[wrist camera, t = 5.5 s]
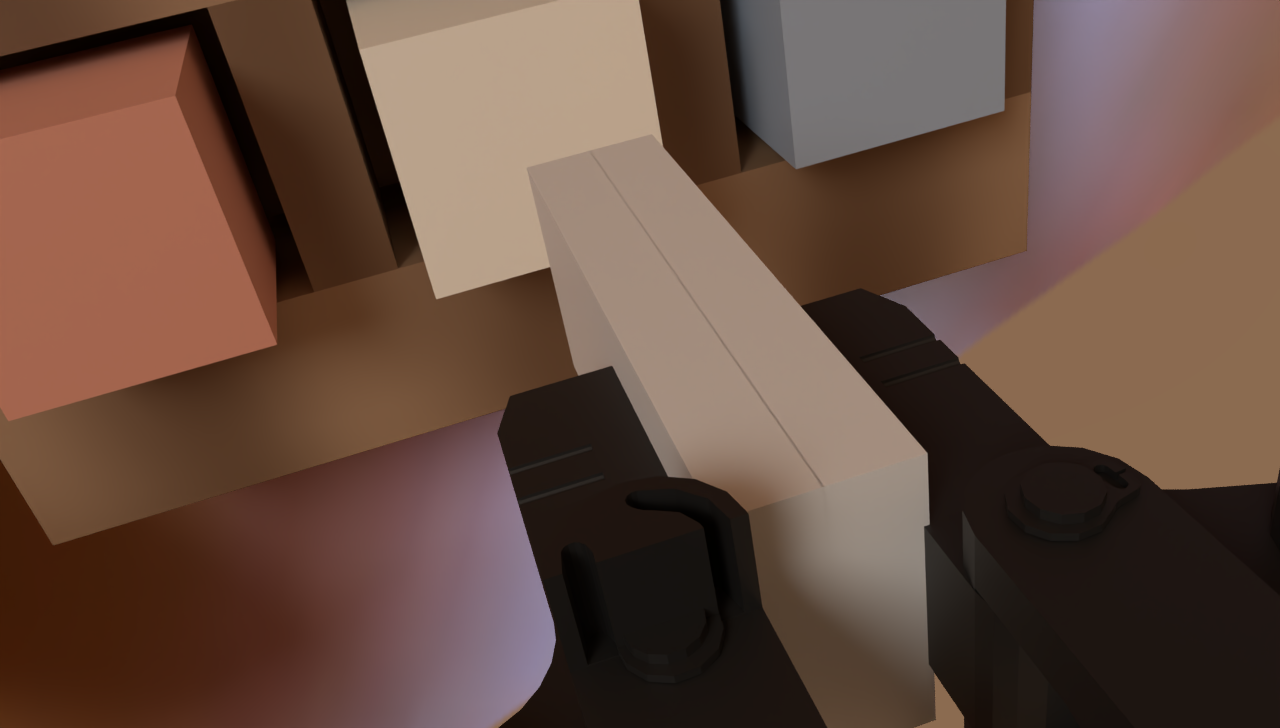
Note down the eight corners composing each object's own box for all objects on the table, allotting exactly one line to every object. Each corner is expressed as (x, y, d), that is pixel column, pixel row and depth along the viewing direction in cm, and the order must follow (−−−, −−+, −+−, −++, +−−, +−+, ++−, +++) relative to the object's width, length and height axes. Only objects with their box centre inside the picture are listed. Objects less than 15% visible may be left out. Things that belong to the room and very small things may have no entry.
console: (89, 404, 25) (53, 545, 21) (-232, -190, 18) (-378, -157, 14) (913, 168, 28) (1026, 250, 23) (893, -415, 21) (1046, -444, 17)
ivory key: (409, 203, 21) (436, 299, 17) (342, -12, 19) (359, 49, 15) (613, 148, 21) (677, 230, 18) (571, -67, 19) (635, -19, 16)
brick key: (51, 301, 20) (8, 420, 16) (-63, 85, 18) (-139, 173, 14) (275, 240, 20) (277, 345, 17) (192, 24, 18) (175, 95, 15)
